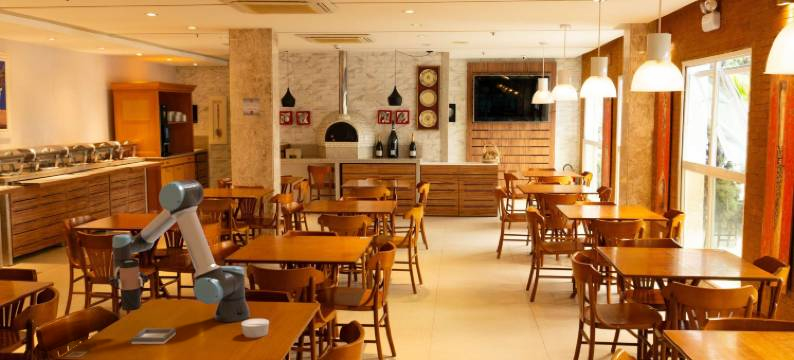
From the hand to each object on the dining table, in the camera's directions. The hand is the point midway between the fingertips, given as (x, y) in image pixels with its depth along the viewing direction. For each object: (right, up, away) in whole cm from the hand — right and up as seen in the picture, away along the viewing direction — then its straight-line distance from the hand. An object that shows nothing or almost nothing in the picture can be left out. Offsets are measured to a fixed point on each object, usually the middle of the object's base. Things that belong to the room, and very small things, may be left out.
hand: (131, 284), depth 295 cm
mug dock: (+9, -22, -1) cm, 24 cm away
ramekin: (+50, -21, +3) cm, 54 cm away
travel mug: (-2, -11, +5) cm, 12 cm away
